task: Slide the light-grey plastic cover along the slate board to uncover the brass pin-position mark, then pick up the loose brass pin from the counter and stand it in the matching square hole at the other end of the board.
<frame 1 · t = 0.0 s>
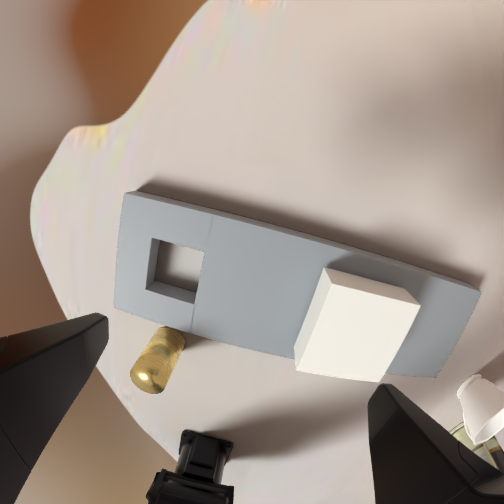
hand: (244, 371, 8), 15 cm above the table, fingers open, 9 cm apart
board: (310, 297, 23), on the table
pin: (169, 340, 25), on the table
coffee can: (459, 435, 29), on the table
cover: (354, 329, 19), point 4 cm above the table, slide at 0.0 cm
cup: (466, 392, 26), on the table
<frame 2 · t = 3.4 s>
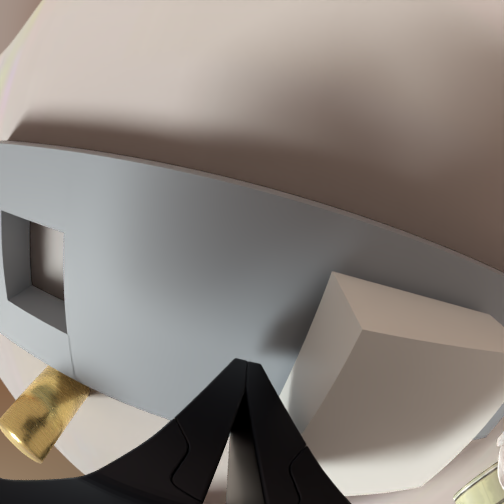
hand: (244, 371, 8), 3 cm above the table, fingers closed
board: (295, 331, 11), on the table
pin: (69, 378, 13), on the table
coffee can: (484, 477, 17), on the table
cover: (394, 411, 7), point 4 cm above the table, slide at 0.3 cm, touching gripper
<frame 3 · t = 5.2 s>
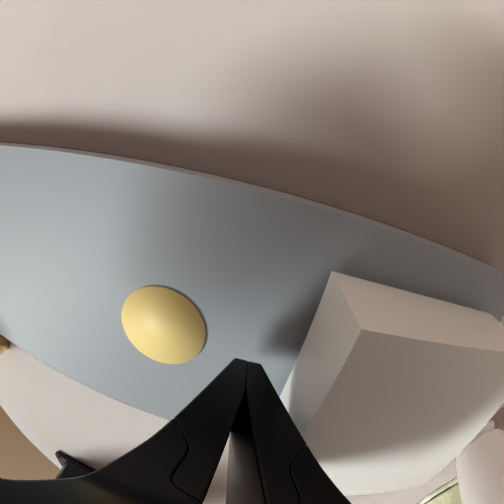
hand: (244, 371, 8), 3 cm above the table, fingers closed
board: (113, 280, 11), on the table
coffee can: (452, 488, 17), on the table
cover: (395, 410, 7), point 4 cm above the table, slide at 8.0 cm, touching gripper
cup: (467, 445, 14), on the table
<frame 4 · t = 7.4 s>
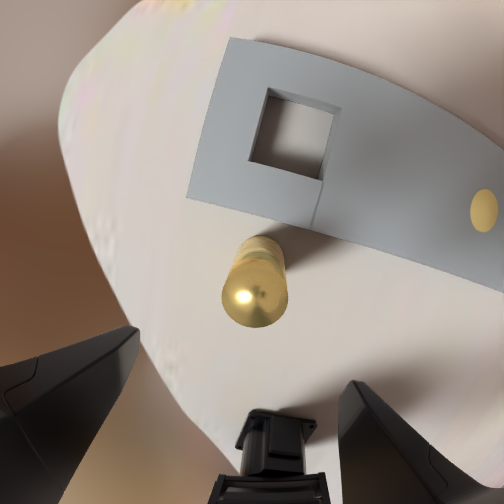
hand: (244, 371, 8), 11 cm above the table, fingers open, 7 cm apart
board: (441, 192, 16), on the table
pin: (260, 258, 19), on the table
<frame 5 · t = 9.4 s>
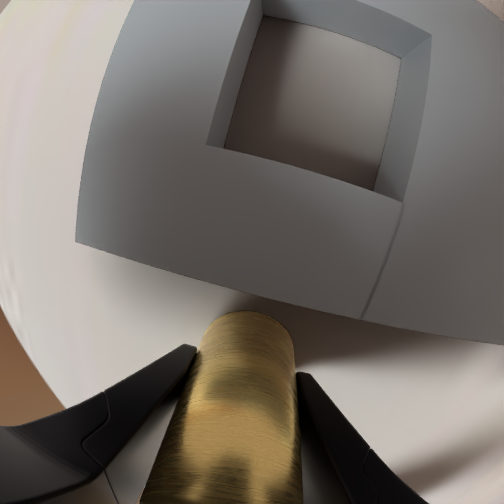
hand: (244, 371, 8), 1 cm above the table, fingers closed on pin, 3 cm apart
pin: (247, 350, 9), on the table, touching gripper
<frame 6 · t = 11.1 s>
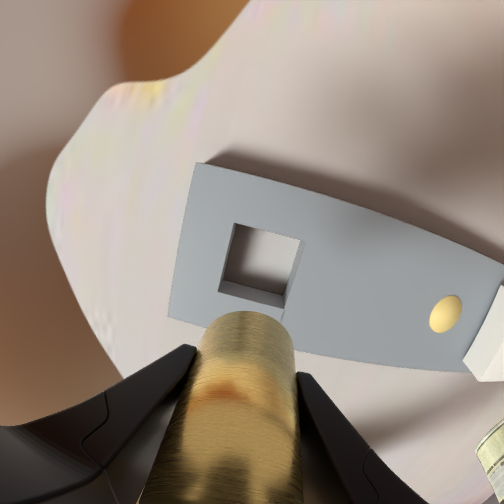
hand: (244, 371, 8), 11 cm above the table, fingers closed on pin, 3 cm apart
board: (405, 295, 19), on the table
pin: (247, 350, 9), point 10 cm above the table, touching gripper
coffee can: (497, 432, 24), on the table
when the fingers open (3 cm above the table, at t = 13.2 s): pin drops 2 cm, resting in board.
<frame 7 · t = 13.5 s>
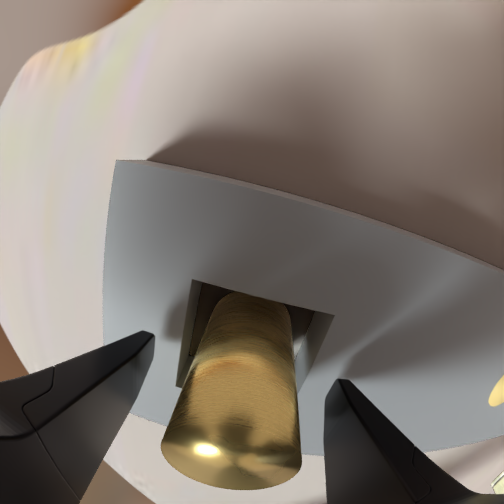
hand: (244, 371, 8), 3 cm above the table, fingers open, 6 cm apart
board: (462, 362, 10), on the table
pin: (250, 325, 10), resting in board
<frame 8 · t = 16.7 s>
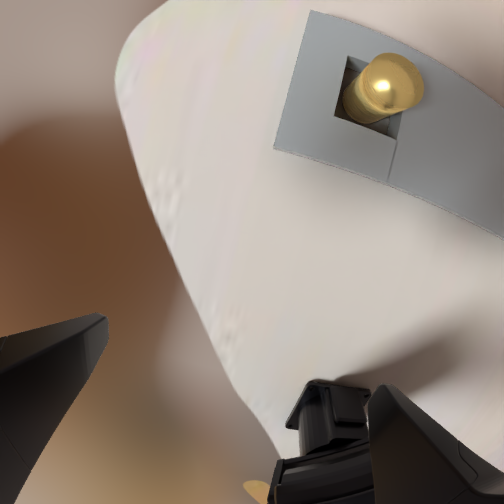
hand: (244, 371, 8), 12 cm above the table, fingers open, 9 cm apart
board: (480, 162, 16), on the table
pin: (363, 102, 16), resting in board
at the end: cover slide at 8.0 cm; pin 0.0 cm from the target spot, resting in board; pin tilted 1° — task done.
